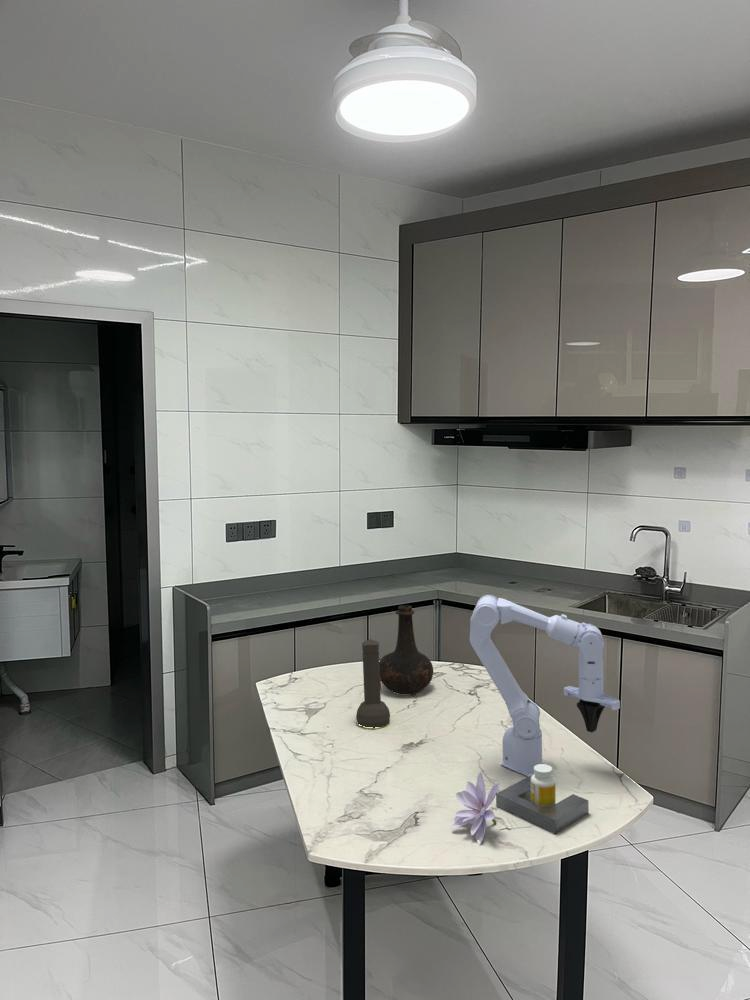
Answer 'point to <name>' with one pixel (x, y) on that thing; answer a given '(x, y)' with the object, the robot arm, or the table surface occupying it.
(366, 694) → the flashlight
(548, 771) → the supplement bottle
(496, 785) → the water lily
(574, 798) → the grey u-shaped block
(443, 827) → the table surface
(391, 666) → the glass bottle
